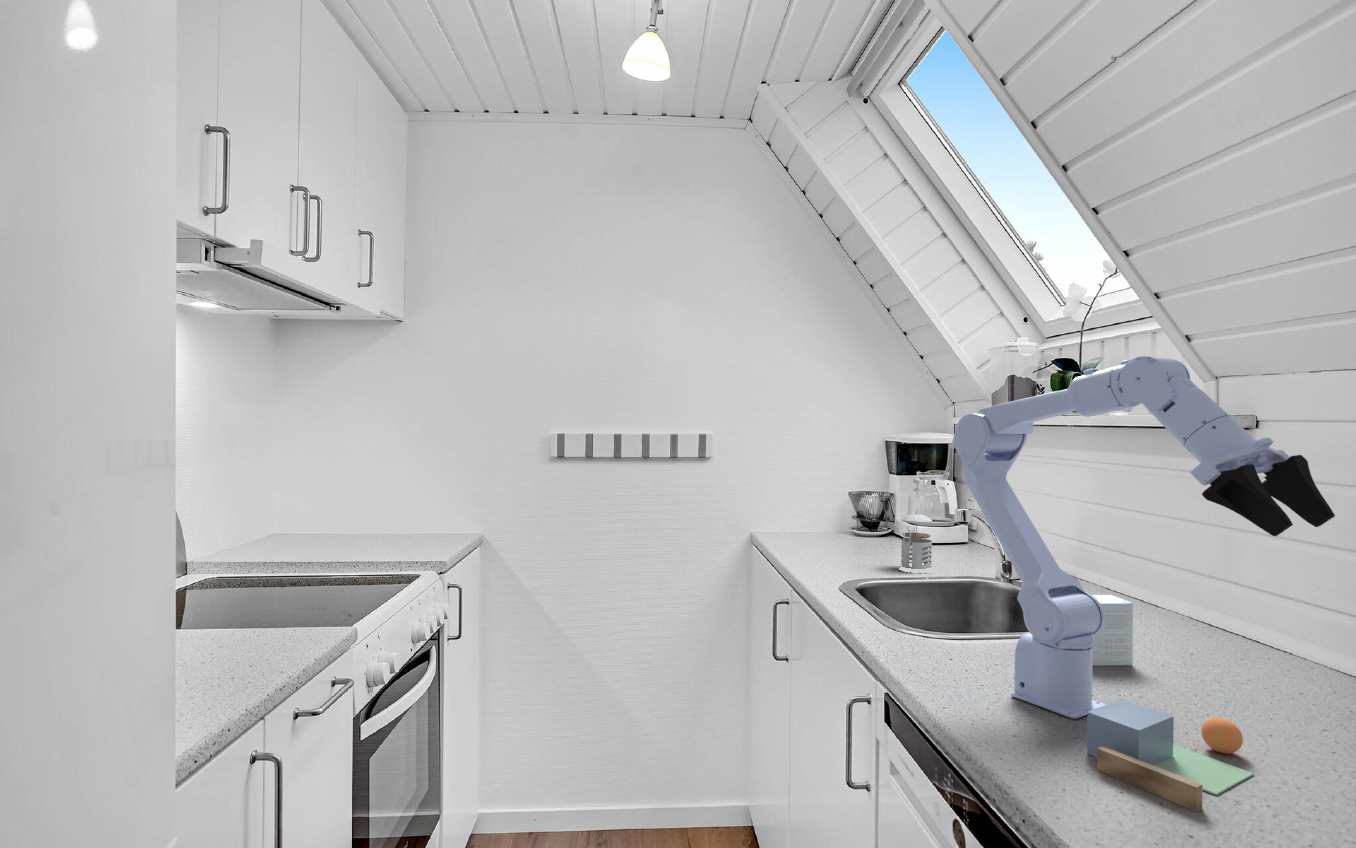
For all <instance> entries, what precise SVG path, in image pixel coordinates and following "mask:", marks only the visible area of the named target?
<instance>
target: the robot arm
mask: <svg viewBox="0 0 1356 848" xmlns="http://www.w3.org/2000/svg"><path fill="white" fill-rule="evenodd" d="M1082 373H1083V375H1080V376H1077V377H1075V378H1074V379H1072V381H1071V382H1070V384H1069V386H1068V388H1066V389H1062V390H1056V391H1052V392H1048V393H1043V394H1038V395H1034V396H1030V397H1024V398H1021V399H1016V400H1012V401H1008V402H1003V403H999V404H995V405H991V406H988V407H984V408H982V409H979V410H977V412H978V413H981V414H978V413H968V414H965V415H964V416H962V417H961V418H960V419H959V420H958V422H957V423H956V426H955V431H954V433H953V434H954V435H953V438H952V445H953V447H954V449H955V450H956V452H957V454H958V456H959V457H960V460H961V464H962V469H963V475H964V480H965V483H966V485H967V487H968V489H969V491H970V492H971V494H972V496H973V498H974V500H975V501H976V503H977V505H978V506H979V509H980V510H981V511H982V514H983V515H984V517H985V519H986V522H988V524H989V526H990V527H991V529H992V531H993V533H994V535H995V537H996V538H997V540H998V542H999V544H1000V545H1001V547H1002V549H1003V550H1004V554H1006V556H1007V558H1008V559H1009V562H1010V563H1011V565H1012V567H1013V568H1014V571H1015V572H1016V574H1017V576H1018V577H1019V579H1020V581H1021V582H1022V586H1021V588H1020V590H1019V592H1018V595H1017V597H1016V598H1017V602H1018V603H1019V605H1020V607H1021V609H1022V613H1023V621H1024V622H1023V623H1024V625H1025V627H1026V628H1027V631H1028V632H1026V633H1024V634H1022V636H1020V638H1018V641H1017V643H1016V646H1015V650H1014V684H1013V685H1014V690H1013V691H1012V692H1010V696H1011V697H1013V698H1016V699H1019V700H1022V701H1024V702H1027V703H1029V704H1032V705H1035V706H1038V707H1039V708H1042V709H1046V710H1048V711H1051V712H1054V713H1057V714H1059V715H1062V716H1065V717H1067V718H1070V719H1074V720H1076V719H1079V718H1082V717H1084V716H1086V715H1087V712H1089V711H1092V710H1094V709H1097V708H1100V707H1103V706H1106V703H1103V702H1100V701H1097V700H1094V699H1093V642H1094V634H1096V633H1098V632H1099V631H1100V630H1101V629H1102V627H1103V625H1104V612H1103V609H1102V606H1101V605H1100V603H1099V602H1098V600H1097V599H1096V598H1095V597H1094V596H1092V595H1093V594H1091V593H1089V592H1088V591H1087V590H1086V589H1085V588H1084V587H1083V586H1082V584H1081V582H1080V581H1079V580H1078V579H1077V578H1075V577H1074V576H1073V575H1071V574H1069V573H1067V572H1066V571H1064V570H1063V569H1062V568H1061V567H1060V566H1059V565H1058V563H1057V561H1056V560H1055V558H1054V556H1053V555H1052V552H1051V551H1050V550H1049V548H1048V546H1047V545H1046V543H1045V541H1044V539H1043V538H1042V537H1041V535H1040V533H1039V531H1038V530H1037V528H1036V527H1035V525H1034V523H1033V522H1032V519H1031V518H1030V517H1029V515H1028V513H1027V512H1026V510H1025V508H1024V507H1023V505H1022V503H1021V501H1020V499H1019V498H1018V497H1017V495H1016V493H1015V492H1014V490H1013V489H1012V487H1011V485H1010V483H1009V482H1008V479H1007V475H1008V472H1009V471H1010V470H1011V468H1012V467H1013V465H1014V463H1015V461H1016V459H1017V458H1018V456H1019V455H1020V453H1021V451H1022V450H1023V448H1024V447H1025V444H1026V443H1027V442H1026V441H1027V439H1028V438H1027V437H1028V435H1031V434H1032V433H1033V432H1034V423H1035V422H1040V421H1044V420H1046V419H1050V418H1054V417H1057V416H1061V415H1064V414H1068V413H1072V412H1075V413H1077V414H1079V415H1081V416H1083V417H1087V418H1090V417H1095V416H1100V415H1104V414H1108V413H1112V412H1117V411H1122V410H1126V409H1131V408H1135V407H1138V406H1139V405H1141V404H1142V405H1143V406H1144V407H1145V408H1146V410H1148V411H1149V412H1150V413H1151V414H1152V416H1154V417H1155V418H1156V419H1157V421H1158V422H1159V423H1160V424H1161V425H1162V426H1163V427H1164V428H1165V429H1166V430H1167V431H1168V432H1169V433H1170V434H1171V435H1172V436H1173V437H1174V438H1175V440H1177V441H1178V442H1179V443H1180V444H1181V445H1182V446H1183V447H1184V448H1185V449H1186V451H1188V452H1189V453H1190V454H1191V455H1192V456H1193V457H1194V458H1195V459H1196V461H1198V462H1199V464H1198V465H1196V467H1194V468H1193V469H1192V470H1190V472H1189V473H1190V475H1192V476H1193V478H1195V479H1196V481H1198V482H1199V483H1200V485H1201V486H1207V485H1210V486H1209V487H1207V488H1206V489H1204V490H1203V492H1202V493H1201V496H1202V497H1203V498H1204V499H1205V500H1206V501H1208V502H1211V503H1215V504H1217V505H1219V506H1222V507H1225V508H1227V509H1229V510H1231V511H1232V512H1235V513H1236V514H1238V515H1239V516H1241V517H1242V518H1244V519H1246V520H1247V521H1249V522H1251V523H1252V524H1254V525H1255V526H1256V527H1258V528H1260V529H1261V530H1263V531H1264V532H1266V533H1267V534H1269V535H1271V536H1272V537H1278V536H1279V535H1281V534H1282V533H1284V532H1285V531H1286V530H1288V529H1290V528H1291V527H1292V526H1293V525H1294V524H1293V522H1292V520H1291V518H1290V517H1289V516H1288V515H1287V513H1286V512H1285V511H1284V510H1283V509H1282V507H1281V506H1280V504H1278V503H1277V501H1279V502H1280V503H1282V505H1285V506H1286V507H1288V508H1289V509H1290V510H1291V511H1292V512H1294V513H1295V514H1296V515H1298V516H1299V518H1301V519H1302V520H1304V521H1306V522H1307V523H1308V524H1309V525H1311V526H1313V527H1314V528H1318V527H1321V526H1324V524H1326V523H1327V522H1329V521H1330V520H1332V519H1333V518H1335V516H1336V515H1335V513H1334V511H1333V509H1332V508H1331V506H1330V505H1329V503H1328V502H1327V501H1326V499H1325V498H1324V496H1323V494H1322V493H1321V492H1320V490H1319V488H1318V486H1317V485H1316V483H1315V481H1314V479H1313V477H1312V474H1311V471H1310V467H1309V461H1308V460H1307V459H1306V458H1305V457H1304V456H1303V455H1301V454H1297V455H1291V456H1289V454H1288V453H1286V452H1285V450H1283V449H1274V448H1272V447H1270V446H1272V445H1273V444H1274V441H1273V440H1272V438H1271V437H1264V438H1263V437H1262V438H1259V439H1256V438H1255V437H1253V435H1251V434H1250V433H1249V432H1248V431H1247V430H1246V429H1245V428H1244V427H1243V426H1241V425H1240V423H1238V422H1237V421H1236V420H1235V419H1234V418H1233V417H1232V416H1231V415H1230V414H1228V412H1226V411H1225V410H1224V409H1223V408H1222V407H1221V406H1220V405H1219V404H1218V403H1216V402H1215V401H1214V399H1212V398H1211V397H1210V396H1209V395H1208V394H1207V393H1206V392H1205V391H1204V390H1203V389H1200V387H1198V386H1197V385H1196V384H1195V383H1194V382H1193V381H1192V380H1191V375H1190V371H1189V370H1188V368H1187V366H1185V364H1184V363H1182V362H1181V361H1179V360H1177V359H1173V358H1168V357H1158V356H1145V355H1143V356H1137V357H1134V358H1132V359H1124V360H1121V361H1120V365H1117V366H1112V367H1109V368H1105V369H1102V370H1099V369H1097V368H1087V369H1085V370H1083V372H1082ZM1258 474H1264V475H1265V476H1264V477H1263V478H1264V481H1261V478H1260V477H1259V475H1258ZM1274 499H1275V500H1274ZM1276 500H1277V501H1276Z"/></svg>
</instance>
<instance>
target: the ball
mask: <svg viewBox="0 0 1356 848" xmlns="http://www.w3.org/2000/svg"><path fill="white" fill-rule="evenodd" d="M1200 731H1201V737H1202V739H1203V741H1204V743H1205V744H1206V745H1207V746H1208V747H1209V748H1211V750H1213V751H1216V752H1218V753H1221V754H1234V753H1236V752H1237V751H1240V749H1241V748H1242V745H1243V743H1244V739H1243V738H1244V737H1243V734H1242V732H1241V730H1240V729H1239V727H1238V726H1237V725H1236V724H1235V723H1234V722H1232V721H1231V720H1229V719H1226V718H1224V717H1223V718H1222V717H1212V718H1209V719H1207V720H1205V721H1204V723H1203V724H1202V725H1201V730H1200Z"/></svg>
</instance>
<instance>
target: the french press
mask: <svg viewBox="0 0 1356 848" xmlns="http://www.w3.org/2000/svg"><path fill="white" fill-rule="evenodd" d="M913 483H914V484H915V483H916V496H918V493H919V492H918V489H919V488H918V483H919V484H920V483H922V481H921V479H920V478H919V477H917V478H914V479H913ZM900 520H901V522H903V523H910V524H916V527H915V526H913V527H912V528H911V529H910V530H909V526H908V525H907V526H906V527H905V529H904V532H903V533H902V535H903V538H901V552H900V553H901V562H900V563H901V565H902V567H905V568H911V569H926V568H932V561H933V560H932V553H933V552H932V548H933V547H932V544H933V541H932V540H930V539H928V538H931V534H928V533H925V532H923V533H922V532H918V524H930V523H932V522H933V520H932V519H931V518H930V517H928V516H927V515H926V516H925V515H924V514H920V513H918V510H916V512H915V513H911V514H908V515H905V516H903V517H902V518H901V519H900ZM915 528H916V530H915ZM907 531H908V532H907ZM915 531H916V532H915ZM910 556H911V557H910ZM909 563H912V567H910V566H909ZM922 563H924V565H922ZM901 565H900V566H901Z"/></svg>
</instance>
